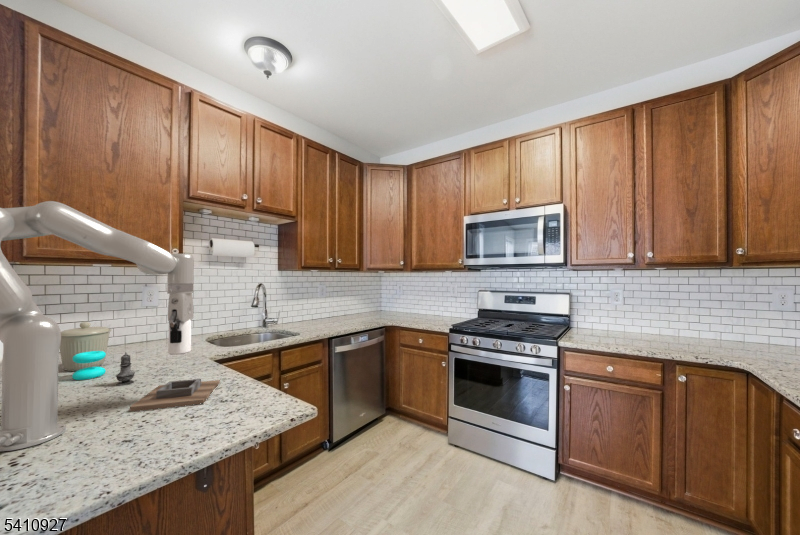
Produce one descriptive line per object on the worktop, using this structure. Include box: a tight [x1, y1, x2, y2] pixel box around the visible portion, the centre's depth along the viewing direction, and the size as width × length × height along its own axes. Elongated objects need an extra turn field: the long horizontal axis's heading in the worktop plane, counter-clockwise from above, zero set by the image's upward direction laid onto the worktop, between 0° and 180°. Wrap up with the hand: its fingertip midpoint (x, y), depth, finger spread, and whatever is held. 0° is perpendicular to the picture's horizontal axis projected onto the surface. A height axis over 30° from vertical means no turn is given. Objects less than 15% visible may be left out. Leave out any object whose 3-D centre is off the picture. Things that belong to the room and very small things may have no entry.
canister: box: [59, 321, 112, 372], centre depth 146 cm, size 18×18×21 cm
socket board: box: [129, 378, 221, 413], centre depth 110 cm, size 20×20×4 cm
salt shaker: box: [115, 352, 136, 387], centre depth 124 cm, size 6×6×12 cm
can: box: [167, 319, 192, 356], centre depth 111 cm, size 6×6×12 cm
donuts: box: [71, 351, 107, 381], centre depth 132 cm, size 10×10×10 cm
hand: (179, 340), depth 111 cm, fingers closed on can, 6 cm apart
